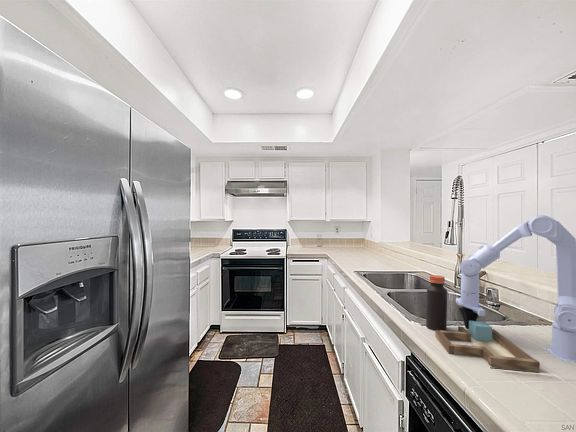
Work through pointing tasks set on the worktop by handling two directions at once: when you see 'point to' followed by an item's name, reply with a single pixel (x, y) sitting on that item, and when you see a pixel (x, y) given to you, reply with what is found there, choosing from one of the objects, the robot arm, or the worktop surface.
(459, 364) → the worktop surface
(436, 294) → the bottle
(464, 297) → the robot arm
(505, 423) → the worktop surface
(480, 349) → the wooden zigzag frame
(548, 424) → the worktop surface
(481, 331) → the block
